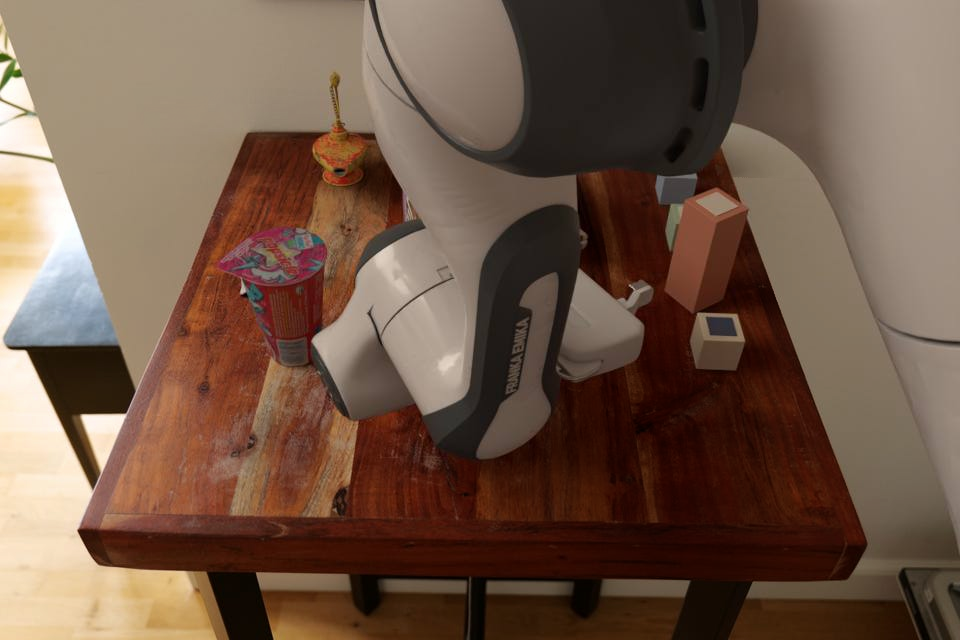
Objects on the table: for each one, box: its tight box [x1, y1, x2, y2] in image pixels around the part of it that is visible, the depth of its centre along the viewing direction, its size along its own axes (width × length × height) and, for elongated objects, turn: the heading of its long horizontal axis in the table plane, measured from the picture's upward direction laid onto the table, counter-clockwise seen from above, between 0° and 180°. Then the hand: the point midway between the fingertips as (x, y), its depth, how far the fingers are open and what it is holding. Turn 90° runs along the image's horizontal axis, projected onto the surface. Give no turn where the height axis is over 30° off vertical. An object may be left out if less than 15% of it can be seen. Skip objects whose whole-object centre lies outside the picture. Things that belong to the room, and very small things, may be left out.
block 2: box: [664, 204, 684, 253], centre depth 99 cm, size 4×4×4 cm
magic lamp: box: [312, 70, 369, 187], centre depth 104 cm, size 7×18×11 cm, turn 8°
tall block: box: [664, 187, 750, 315], centre depth 89 cm, size 4×4×12 cm
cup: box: [215, 226, 328, 368], centre depth 81 cm, size 9×8×12 cm
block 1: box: [654, 173, 698, 206], centre depth 106 cm, size 4×4×4 cm
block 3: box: [689, 312, 746, 371], centre depth 85 cm, size 4×4×4 cm
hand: (614, 262), depth 80 cm, fingers open, 8 cm apart
